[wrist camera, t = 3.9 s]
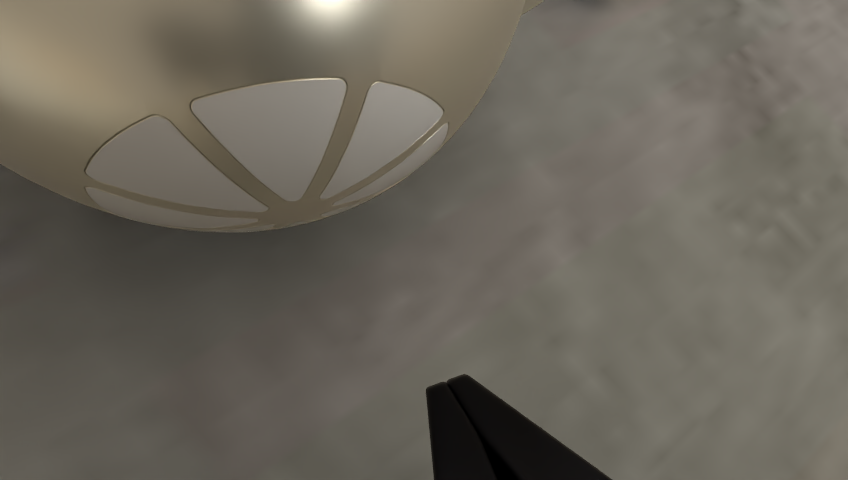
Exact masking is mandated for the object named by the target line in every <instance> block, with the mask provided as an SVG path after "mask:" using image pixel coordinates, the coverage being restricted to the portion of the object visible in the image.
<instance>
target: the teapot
mask: <svg viewBox="0 0 848 480" xmlns="http://www.w3.org/2000/svg"><path fill="white" fill-rule="evenodd" d="M543 1H545V0H0V164H1V165H3V166H5V167H7V168H8V169H10V170H12V171H14V172H15V173H17V174H19V175H21V176H22V177H24V178H26V179H28V180H30V181H32V182H34V183H36V184H38V185H40V186H42V187H44V188H46V189H49V190H51V191H53V192H55V193H57V194H59V195H62V196H64V197H66V198H69V199H71V200H74V201H76V202H79V203H81V204H84V205H86V206H89V207H92V208H95V209H98V210H101V211H104V212H107V213H110V214H114V215H117V216H120V217H123V218H127V219H131V220H134V221H139V222H143V223H148V224H152V225H157V226H163V227H168V228H175V229H182V230H191V231H202V232H224V233H234V232H256V231H265V230H274V229H281V228H287V227H292V226H297V225H302V224H306V223H310V222H314V221H317V220H321V219H324V218H327V217H330V216H333V215H336V214H339V213H341V212H344V211H347V210H349V209H351V208H354V207H356V206H358V205H360V204H362V203H365V202H367V201H369V200H371V199H373V198H374V197H376V196H378V195H380V194H382V193H383V192H385V191H387V190H388V189H390V188H392V187H393V186H395V185H396V184H398V183H399V182H401V181H402V180H404V179H405V178H406V177H408V176H409V175H410V174H412V173H413V172H414V171H416V170H417V169H418V168H420V167H421V166H422V165H423V164H424V163H426V162H427V161H428V160H429V159H430V158H431V157H432V156H433V155H434V154H435V153H436V152H437V151H439V150H440V149H441V148H442V147H443V146H444V144H445V143H446V142H447V141H448V140H449V139H450V138H451V137H452V136H453V135H454V134H455V133H456V131H457V130H458V129H459V128H460V127H461V125H462V124H463V123H464V122H465V120H466V119H467V118H468V117H469V115H470V114H471V113H472V111H473V110H474V108H475V107H476V106H477V104H478V103H479V101H480V100H481V98H482V97H483V95H484V93H485V92H486V90H487V88H488V87H489V85H490V83H491V82H492V80H493V78H494V77H495V75H496V73H497V71H498V69H499V67H500V65H501V63H502V61H503V59H504V56H505V54H506V52H507V50H508V48H509V46H510V43H511V41H512V38H513V36H514V33H515V31H516V28H517V25H518V22H519V20H520V17H521V15H522V14H524V13H526V12H528V11H529V10H531V9H533V8H534V7H536V6H537V5H539V4H540V3H542V2H543Z"/></svg>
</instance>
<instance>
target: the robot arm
mask: <svg viewBox="0 0 848 480" xmlns="http://www.w3.org/2000/svg"><path fill="white" fill-rule="evenodd" d="M426 397H427V408H428V419H429V430H430V441H431V452H432V462H433V473H434V480H612V479H611V478H609V477H608V476H606V475H605V474H604V473H602V472H601V471H599V470H598V469H597V468H595V467H594V466H593V465H591V464H590V463H588V462H587V461H586V460H584V459H583V458H582V457H580V456H579V455H577V454H576V453H575V452H573V451H572V450H571V449H569V448H568V447H566V446H565V445H564V444H562V443H561V442H560V441H558V440H557V439H555V438H554V437H553V436H551V435H550V434H548V433H547V432H546V431H544V430H543V429H542V428H540V427H539V426H537V425H536V424H535V423H533V422H532V421H531V420H529V419H528V418H526V417H525V416H524V415H522V414H521V413H520V412H518V411H517V410H515V409H514V408H513V407H511V406H510V405H508V404H507V403H506V402H504V401H503V400H502V399H500V398H499V397H497V396H496V395H495V394H493V393H492V392H491V391H489V390H488V389H486V388H485V387H484V386H482V385H481V384H480V383H478V382H477V381H475V380H474V379H473V378H471V377H470V376H468V375H465V374H463V375H460V376H457V377H454V378H451V379H449V380H448V381H447V382H440V383H437V384H435V385H432V386H429V387H427V389H426Z"/></svg>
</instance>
